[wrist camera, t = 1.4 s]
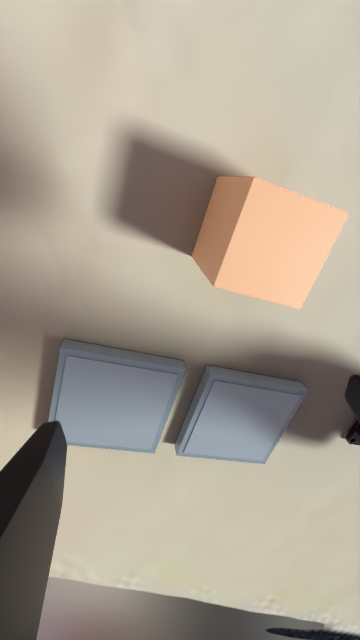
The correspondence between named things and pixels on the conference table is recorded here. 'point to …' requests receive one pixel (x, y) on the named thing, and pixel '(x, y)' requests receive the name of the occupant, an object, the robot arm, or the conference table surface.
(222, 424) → the dish
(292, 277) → the block
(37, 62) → the conference table surface
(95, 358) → the dish
